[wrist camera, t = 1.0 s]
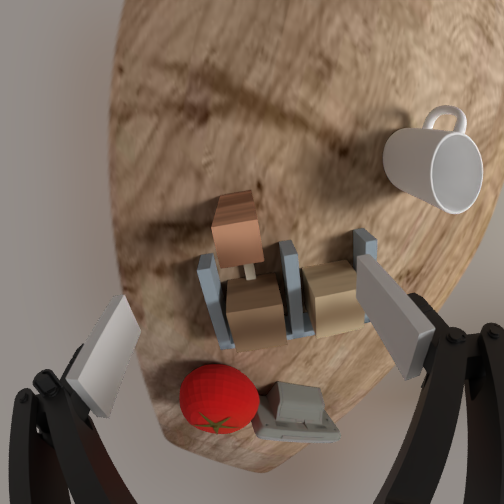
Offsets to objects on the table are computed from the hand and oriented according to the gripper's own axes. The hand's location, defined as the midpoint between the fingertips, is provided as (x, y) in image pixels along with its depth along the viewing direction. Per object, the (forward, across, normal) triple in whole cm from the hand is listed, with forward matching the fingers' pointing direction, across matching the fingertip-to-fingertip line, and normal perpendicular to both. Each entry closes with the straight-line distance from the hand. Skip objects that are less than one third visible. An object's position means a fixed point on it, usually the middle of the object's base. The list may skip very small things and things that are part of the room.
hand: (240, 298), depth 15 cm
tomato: (+19, -8, -27) cm, 34 cm away
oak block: (+18, +9, -12) cm, 24 cm away
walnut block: (+18, 0, -6) cm, 19 cm away
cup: (+18, +23, +5) cm, 30 cm away
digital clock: (+19, +2, -36) cm, 41 cm away
